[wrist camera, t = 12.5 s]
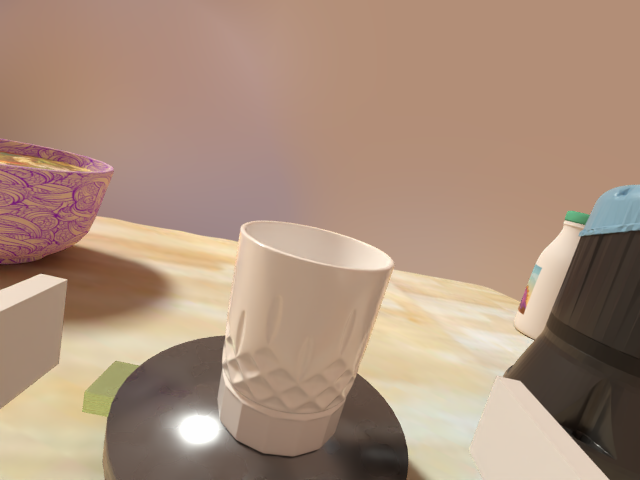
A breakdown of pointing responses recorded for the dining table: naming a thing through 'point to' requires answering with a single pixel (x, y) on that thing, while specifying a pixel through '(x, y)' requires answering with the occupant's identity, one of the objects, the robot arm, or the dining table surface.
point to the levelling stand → (213, 437)
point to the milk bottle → (548, 277)
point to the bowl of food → (46, 199)
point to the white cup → (296, 333)
